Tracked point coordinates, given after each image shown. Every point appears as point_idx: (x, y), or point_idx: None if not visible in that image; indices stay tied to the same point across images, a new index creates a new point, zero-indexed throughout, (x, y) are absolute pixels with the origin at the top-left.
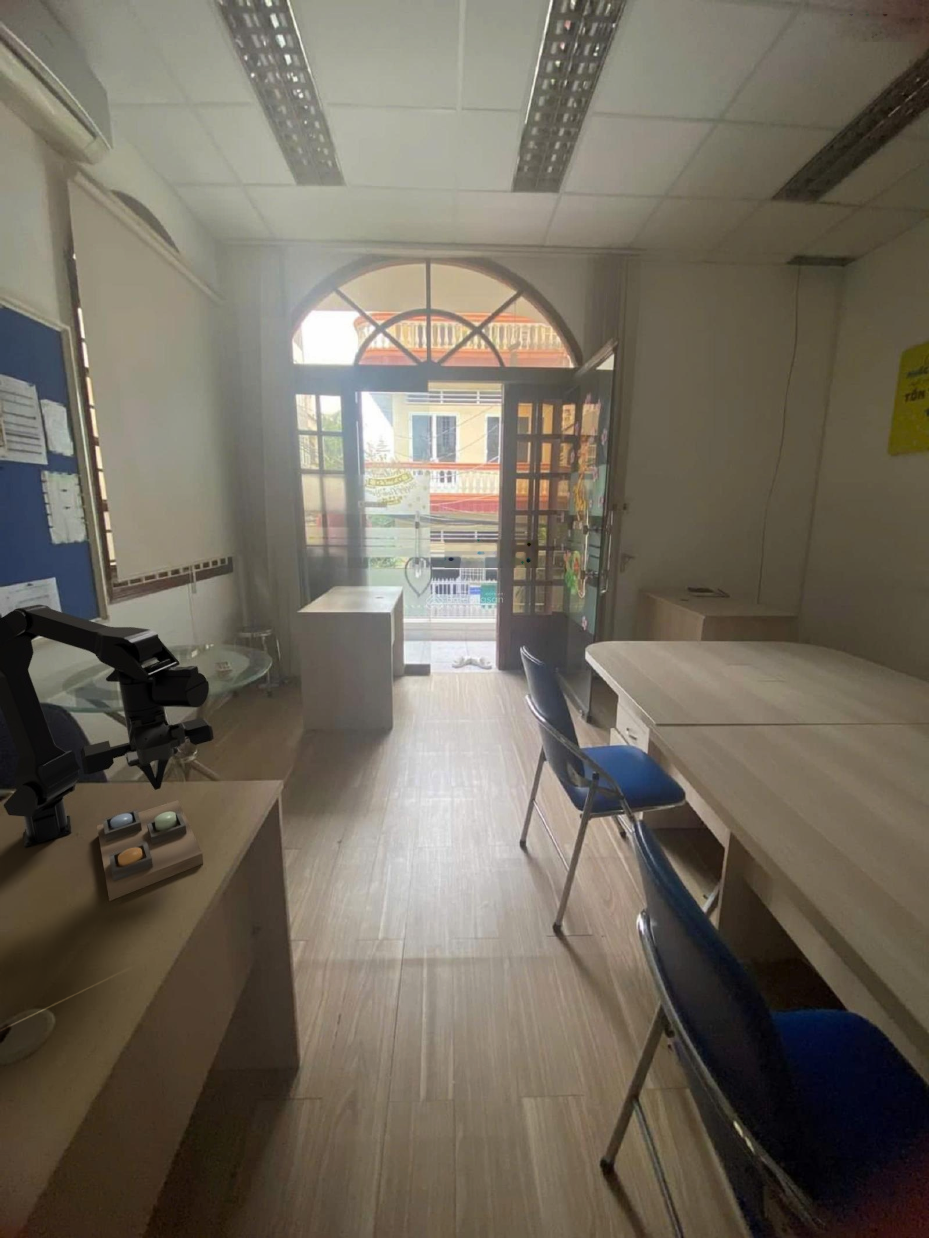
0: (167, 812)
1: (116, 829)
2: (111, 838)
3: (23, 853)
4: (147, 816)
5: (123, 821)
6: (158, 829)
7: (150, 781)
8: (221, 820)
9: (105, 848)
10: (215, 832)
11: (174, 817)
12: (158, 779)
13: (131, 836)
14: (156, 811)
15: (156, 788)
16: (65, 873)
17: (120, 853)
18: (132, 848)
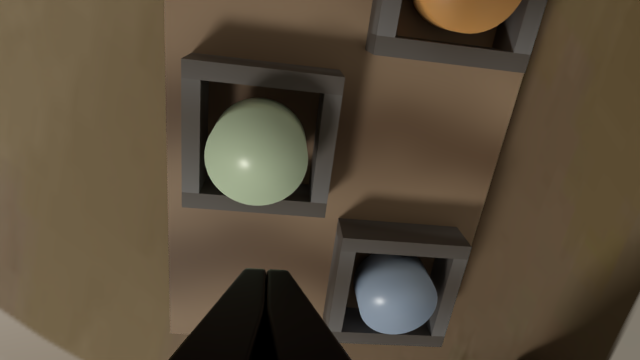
0: (236, 194)
1: (431, 249)
2: (443, 229)
3: (585, 355)
4: None
5: (399, 278)
6: (300, 123)
7: (326, 332)
8: (40, 120)
9: (473, 188)
10: (80, 45)
11: (216, 124)
12: (243, 327)
13: (380, 201)
14: None
15: (276, 271)
16: (562, 185)
17: (504, 19)
18: (451, 20)
